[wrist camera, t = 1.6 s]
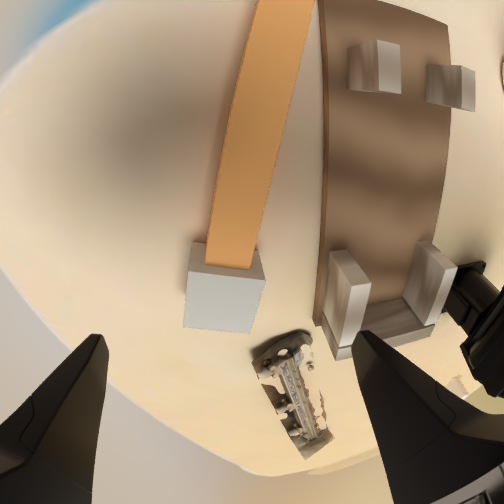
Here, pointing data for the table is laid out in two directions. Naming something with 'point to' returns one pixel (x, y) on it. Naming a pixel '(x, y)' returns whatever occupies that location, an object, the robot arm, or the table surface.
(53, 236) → the table surface
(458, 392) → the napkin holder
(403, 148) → the cable board
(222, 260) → the tan bar grey block
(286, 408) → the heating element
